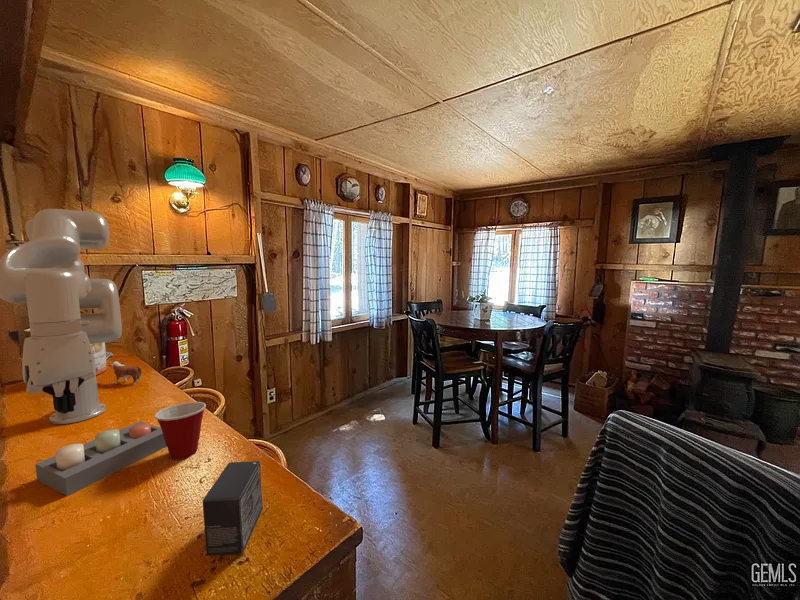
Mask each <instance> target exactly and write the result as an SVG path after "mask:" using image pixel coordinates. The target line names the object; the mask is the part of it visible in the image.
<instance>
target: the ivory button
mask: <svg viewBox="0 0 800 600" xmlns="http://www.w3.org/2000/svg"><path fill="white" fill-rule="evenodd" d="M54 454H55V456H56V463H57V470H59V471H61V472H63V471H65V470H67V469H69V468H72V467H74V466H76V465H78V464H81V463H83V462H85V456H84V446H83V443H72V444H69V445H66V446H63V447H61V448H59V449H57V450H56V451H55V453H54Z"/></svg>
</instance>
